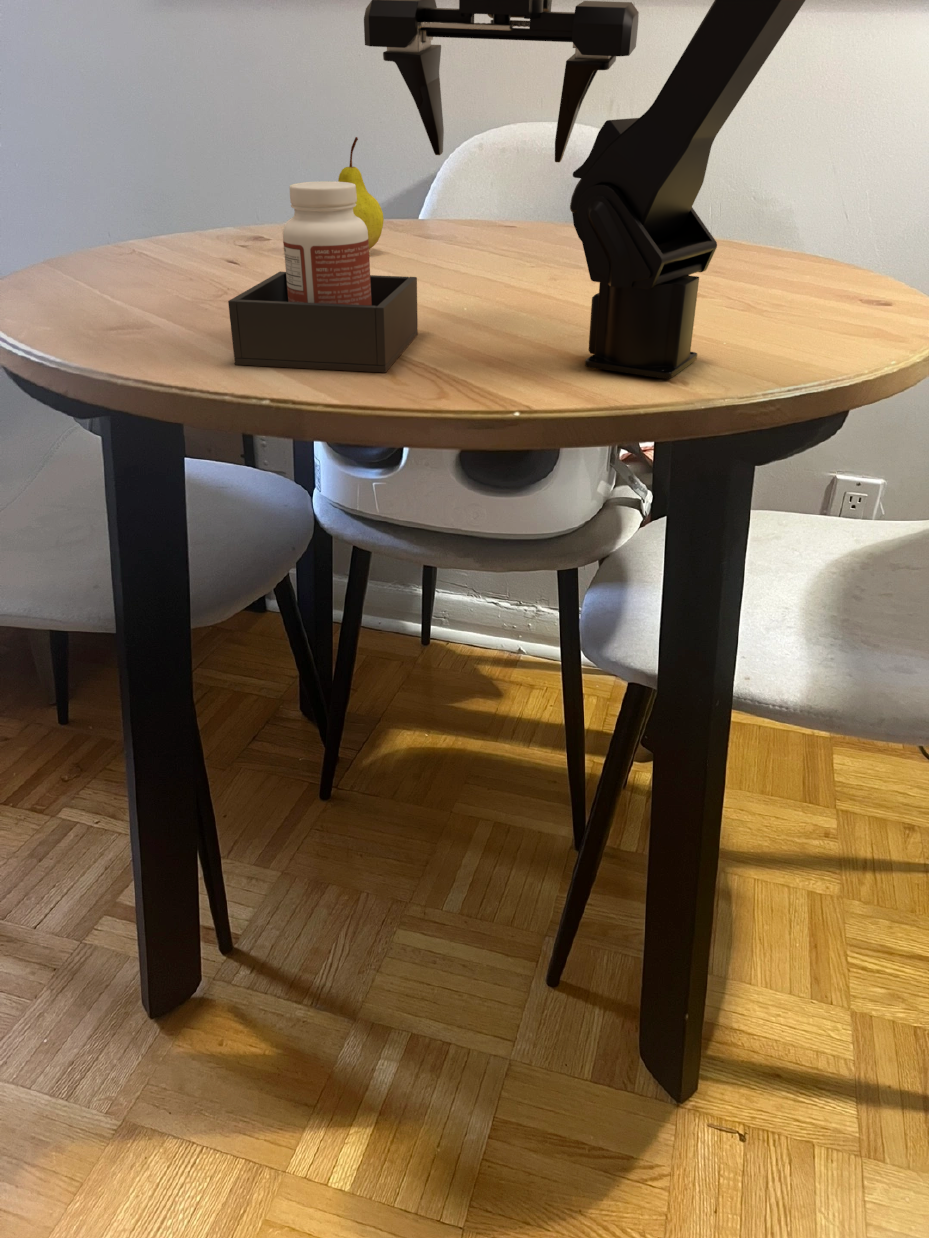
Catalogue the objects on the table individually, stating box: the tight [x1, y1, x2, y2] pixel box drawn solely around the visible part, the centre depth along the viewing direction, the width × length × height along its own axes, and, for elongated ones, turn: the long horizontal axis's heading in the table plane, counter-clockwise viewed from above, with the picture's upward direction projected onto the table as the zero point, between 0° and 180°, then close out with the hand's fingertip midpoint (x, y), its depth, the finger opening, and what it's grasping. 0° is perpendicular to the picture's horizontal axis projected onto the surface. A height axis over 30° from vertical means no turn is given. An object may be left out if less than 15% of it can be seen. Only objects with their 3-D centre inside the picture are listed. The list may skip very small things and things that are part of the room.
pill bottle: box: [282, 180, 372, 305], centre depth 73 cm, size 6×6×11 cm
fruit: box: [337, 136, 385, 250], centre depth 110 cm, size 7×7×12 cm
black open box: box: [227, 271, 419, 374], centre depth 74 cm, size 11×11×4 cm
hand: (497, 158), depth 75 cm, fingers open, 9 cm apart
